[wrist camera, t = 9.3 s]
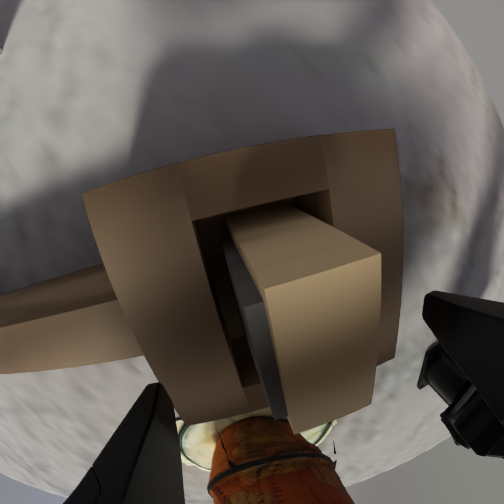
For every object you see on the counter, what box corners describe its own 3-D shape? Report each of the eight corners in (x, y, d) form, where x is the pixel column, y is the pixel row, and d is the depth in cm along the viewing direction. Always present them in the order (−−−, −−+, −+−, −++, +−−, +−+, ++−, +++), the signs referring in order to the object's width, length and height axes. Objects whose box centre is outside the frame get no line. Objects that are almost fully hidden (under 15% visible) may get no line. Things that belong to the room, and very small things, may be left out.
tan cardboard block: (299, 304, 16) (371, 403, 8) (240, 322, 16) (280, 439, 8) (283, 201, 14) (381, 253, 6) (213, 218, 13) (241, 295, 6)
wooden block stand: (341, 303, 20) (394, 357, 14) (-9, 375, 16) (-35, 421, 10) (322, 135, 16) (394, 128, 10) (-64, 267, 12) (-107, 299, 5)
